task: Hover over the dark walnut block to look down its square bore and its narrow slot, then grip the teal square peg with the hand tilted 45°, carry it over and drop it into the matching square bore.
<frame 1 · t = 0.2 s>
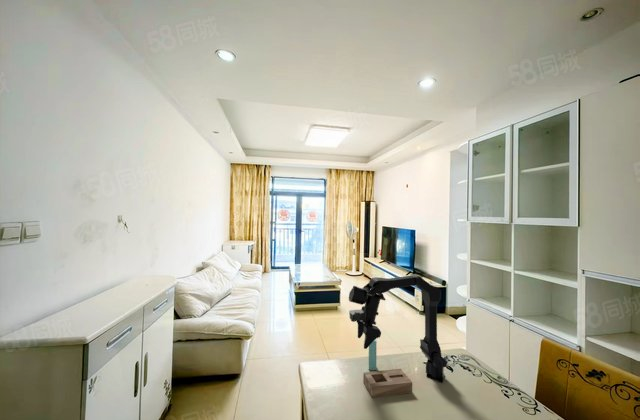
hand: (361, 343, 104), 15 cm above the table, tool tilted 15°, fingers open, 9 cm apart
teal square peg: (372, 368, 112), on the table
bore block: (387, 387, 99), on the table
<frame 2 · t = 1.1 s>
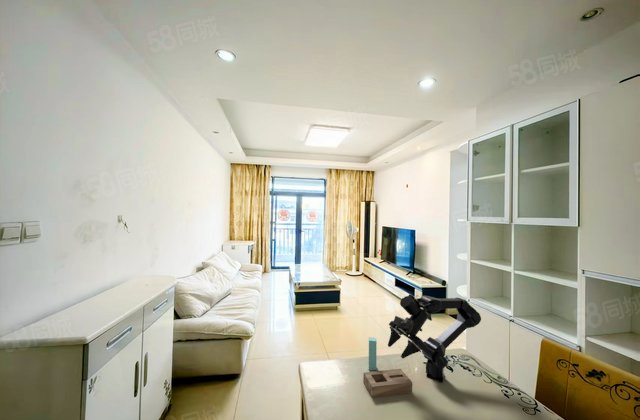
hand: (394, 351, 101), 13 cm above the table, tool tilted 45°, fingers open, 9 cm apart
nothing on the table moved.
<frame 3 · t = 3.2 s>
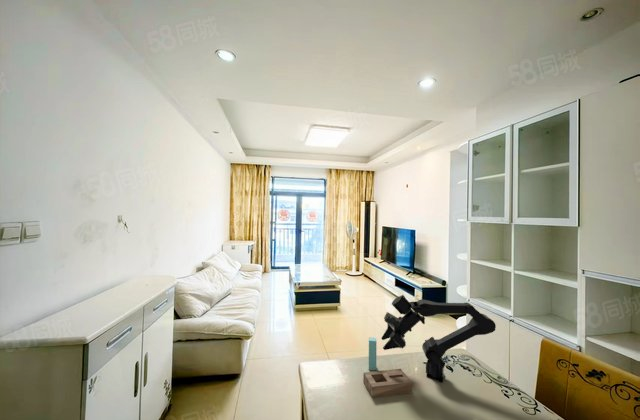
hand: (382, 343, 111), 11 cm above the table, tool tilted 45°, fingers open, 9 cm apart
nothing on the table moved.
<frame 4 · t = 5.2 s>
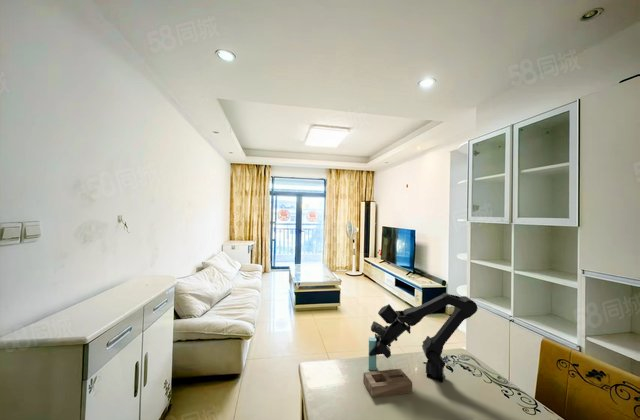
hand: (369, 353, 112), 7 cm above the table, tool tilted 45°, fingers closed on teal square peg, 3 cm apart
teal square peg: (372, 368, 112), on the table, touching gripper
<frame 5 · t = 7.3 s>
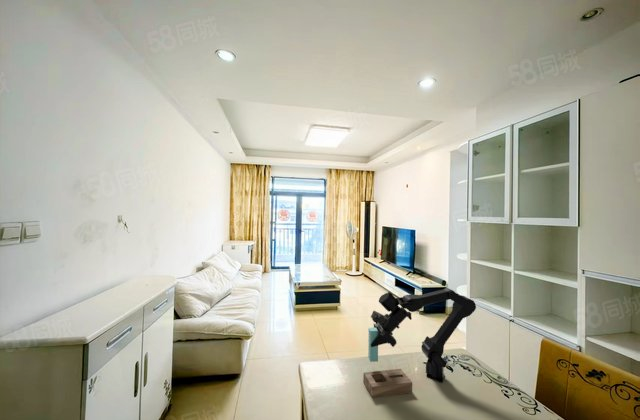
hand: (370, 344, 107), 14 cm above the table, tool tilted 45°, fingers closed on teal square peg, 3 cm apart
teal square peg: (373, 359, 106), point 7 cm above the table, touching gripper
when the fingers open (8 cm above the table, at t = 9.4 s): teal square peg drops 1 cm, resting in bore block.
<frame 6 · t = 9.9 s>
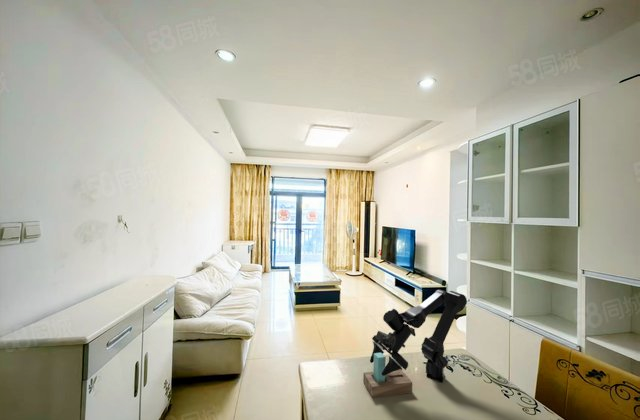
hand: (376, 368, 98), 8 cm above the table, tool tilted 45°, fingers open, 9 cm apart
teal square peg: (378, 388, 98), resting in bore block
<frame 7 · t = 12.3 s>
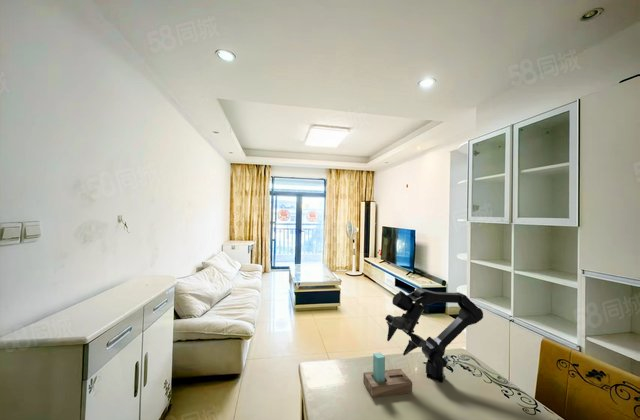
hand: (395, 347, 105), 13 cm above the table, tool tilted 30°, fingers open, 9 cm apart
nothing on the table moved.
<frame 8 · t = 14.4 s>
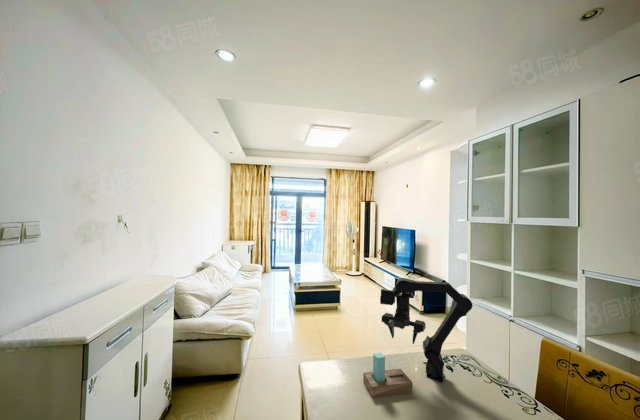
hand: (402, 340, 111), 13 cm above the table, tool pointing down, fingers open, 9 cm apart
nothing on the table moved.
at the end: teal square peg 0.1 cm from the target spot on the bore block, point 0.0 cm above the bore block's base; teal square peg tilted 0°; the gripper is holding nothing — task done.
